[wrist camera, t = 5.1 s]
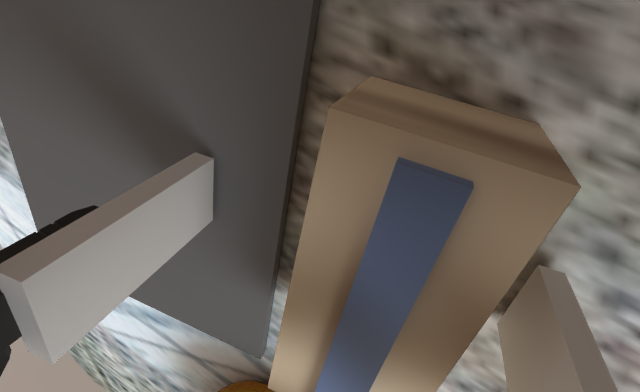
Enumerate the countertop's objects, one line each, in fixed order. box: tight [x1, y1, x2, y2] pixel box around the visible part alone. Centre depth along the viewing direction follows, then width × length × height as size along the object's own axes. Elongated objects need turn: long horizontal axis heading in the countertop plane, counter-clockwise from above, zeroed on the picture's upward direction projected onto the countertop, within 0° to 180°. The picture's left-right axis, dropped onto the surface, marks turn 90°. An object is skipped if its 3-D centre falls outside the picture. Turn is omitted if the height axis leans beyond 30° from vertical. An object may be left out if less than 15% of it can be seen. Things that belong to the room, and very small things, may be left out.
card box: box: [268, 76, 581, 392], centre depth 10 cm, size 10×4×4 cm, turn 168°
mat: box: [0, 0, 320, 359], centre depth 14 cm, size 16×14×1 cm
